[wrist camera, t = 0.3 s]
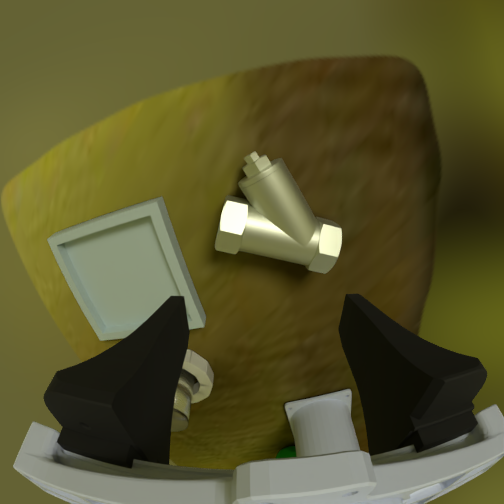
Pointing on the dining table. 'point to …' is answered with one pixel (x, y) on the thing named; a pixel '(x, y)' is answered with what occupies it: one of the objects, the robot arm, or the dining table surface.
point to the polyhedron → (287, 452)
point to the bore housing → (199, 375)
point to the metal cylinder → (182, 401)
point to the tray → (125, 268)
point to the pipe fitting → (276, 219)
